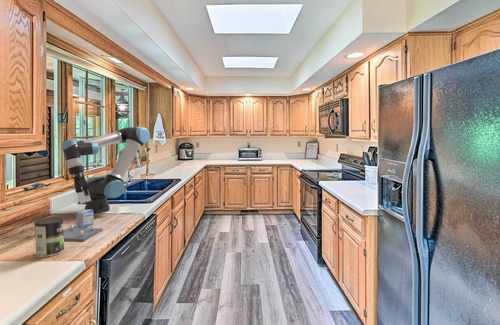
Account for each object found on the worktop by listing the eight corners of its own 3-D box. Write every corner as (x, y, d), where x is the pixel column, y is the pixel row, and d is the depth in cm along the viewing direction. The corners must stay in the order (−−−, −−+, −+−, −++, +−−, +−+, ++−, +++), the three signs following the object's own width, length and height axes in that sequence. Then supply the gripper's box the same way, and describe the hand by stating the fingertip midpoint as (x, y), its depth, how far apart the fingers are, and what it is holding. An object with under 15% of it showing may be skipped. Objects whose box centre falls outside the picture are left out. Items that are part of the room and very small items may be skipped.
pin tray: (70, 229, 156) (69, 223, 156) (102, 230, 155) (102, 223, 155) (48, 240, 140) (47, 232, 140) (84, 241, 139) (83, 233, 139)
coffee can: (67, 247, 132) (66, 216, 131) (60, 255, 122) (58, 223, 121) (41, 249, 129) (39, 218, 128) (31, 258, 119) (29, 224, 118)
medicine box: (83, 228, 159) (82, 213, 158) (76, 228, 160) (75, 212, 159) (93, 224, 166) (93, 209, 166) (87, 223, 167) (86, 209, 167)
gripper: (63, 171, 173) (73, 205, 173) (72, 164, 155) (83, 202, 155) (77, 168, 178) (87, 202, 178) (88, 161, 160) (98, 198, 160)
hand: (85, 202), depth 167 cm, fingers open, 13 cm apart
